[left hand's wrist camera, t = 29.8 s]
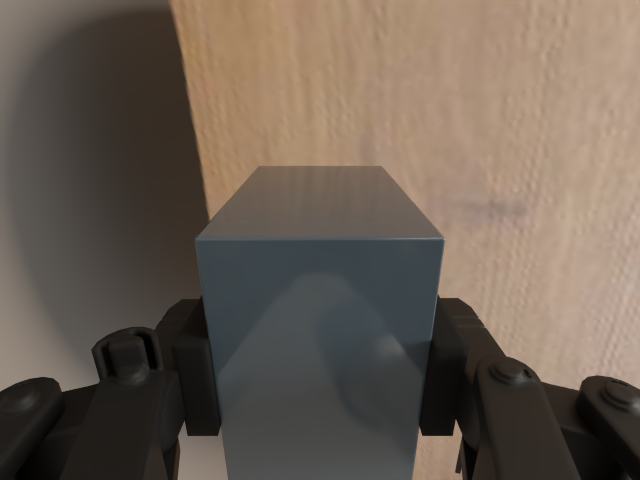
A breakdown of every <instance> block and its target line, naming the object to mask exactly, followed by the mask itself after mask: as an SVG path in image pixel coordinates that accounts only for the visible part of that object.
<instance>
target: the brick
mask: <svg viewBox="0 0 640 480" xmlns="http://www.w3.org/2000/svg"><path fill="white" fill-rule="evenodd" d="M195 245H196V252H197V259H198V267H199V274H200V281H201V288H202V295H203V302H204V310H205V317H206V324H207V331H208V338H209V345H210V352H211V359H212V367H213V374H214V381H215V388H216V395H217V402H218V410H219V417H220V424H221V431H222V439H223V446H224V453H225V460H226V467H227V474H228V480H412V476H413V469H414V462H415V455H416V447H417V440H418V433H419V425H420V418H421V411H422V404H423V397H424V389H425V382H426V375H427V368H428V360H429V353H430V346H431V339H432V332H433V324H434V317H435V310H436V303H437V295H438V288H439V281H440V274H441V266H442V259H443V252H444V245H445V238H444V237H443V235H442V234H441V233H440V232H439V231H438V230H437V229H436V227H435V226H434V225H433V224H432V223H431V222H430V221H429V219H428V218H427V217H426V216H425V215H424V214H423V213H422V212H421V210H420V209H419V208H418V207H417V206H416V205H415V204H414V202H413V201H412V200H411V199H410V198H409V197H408V196H407V194H406V193H405V192H404V191H403V190H402V189H401V188H400V186H399V185H398V184H397V183H396V182H395V181H394V180H393V178H392V177H391V176H390V175H389V174H388V173H387V172H386V170H385V169H384V168H383V167H382V166H258V167H257V169H256V170H255V171H254V172H253V173H252V174H251V175H250V177H249V178H248V179H247V180H246V181H245V182H244V183H243V184H242V186H241V187H240V188H239V189H238V190H237V191H236V192H235V194H234V195H233V196H232V197H231V198H230V199H229V200H228V201H227V203H226V204H225V205H224V206H223V207H222V208H221V209H220V211H219V212H218V213H217V214H216V215H215V216H214V217H213V218H212V220H211V221H210V222H209V223H208V224H207V225H206V226H205V228H204V229H203V230H202V231H201V232H200V233H199V234H198V235H197V237H196V238H195Z"/></svg>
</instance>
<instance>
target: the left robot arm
mask: <svg viewBox="0 0 640 480" xmlns="http://www.w3.org/2000/svg"><path fill="white" fill-rule="evenodd" d="M91 351H92V354H93V358H94V361H95V364H96V368H97V371H98V375H99V378H100V382H99V383H98V384H95V385H91V386H87V387H83V388H78V389H74V390H69V391H65V392H62V391H61V388H60V386H59V383H58V382H57V381H56V380H54V379H53V378H47V377H39V378H32V379H28V380H25V381H22V382H19V383H16V384H14V385H12V386H10V387H8V388H6V389H4V390H2V391H1V392H0V480H177V478H178V468H179V458H180V446H179V440H178V435H179V432H180V430H181V427H182V425H183V423H184V420H185V424H186V429H187V435H188V436H218V433H219V430H220V427H221V424H220V417H219V410H218V402H217V395H216V388H215V381H214V374H213V367H212V359H211V352H210V345H209V338H208V331H207V324H206V317H205V310H204V302H203V295H202V296H201V298H200V299H182V300H181V301H179V302H178V303H176V304H175V305H173V306H172V307H171V308H169V310H168V311H167V312H166V314H165V315H164V317H163V318H162V321H160V322H159V324H158V325H157V327H156V329H154V330H152V329H150V328H146V327H130V328H126V329H122V330H118V331H116V332H114V333H111V334H109V335H107V336H106V337H104V338H103V339H101V340H100V341H98V342H97V343H96V345H95V346H94V347H93V348H92V350H91ZM455 420H457V423H458V425H459V427H460V430H461V432H462V440H461V445H460V450H459V455H458V460H457V465H456V471H455V473H459V474H460V472H461V467H462V477H463V480H640V389H638V388H636V387H634V386H632V385H630V384H628V383H626V382H624V381H621V380H618V379H614V378H611V377H605V376H591V377H587V378H586V379H585V380H583V381H582V384H581V387H580V389H579V391H578V390H574V389H569V388H565V387H560V386H556V385H551V384H548V383H544V382H541V381H540V379H539V377H538V376H537V375H536V373H535V372H534V371H533V370H532V369H531V368H529V367H528V366H527V365H526V364H524V363H522V362H520V361H518V360H516V359H514V358H510V357H506V355H505V354H504V353H503V351H502V350H501V348H500V347H499V346H498V344H497V343H496V341H495V340H494V339H493V337H492V336H491V334H490V333H489V332H488V330H487V329H486V328H485V327H484V325H483V323H482V322H481V320H480V319H478V316H477V315H476V313H475V312H474V311H473V309H472V308H471V307H470V306H469V305H467V304H466V303H464V302H463V301H462V300H460V299H459V298H440V297H439V295H437V303H436V310H435V317H434V324H433V332H432V339H431V346H430V353H429V360H428V368H427V375H426V382H425V389H424V397H423V404H422V411H421V418H420V425H419V426H420V429H421V433H422V436H453V431H454V426H455Z"/></svg>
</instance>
